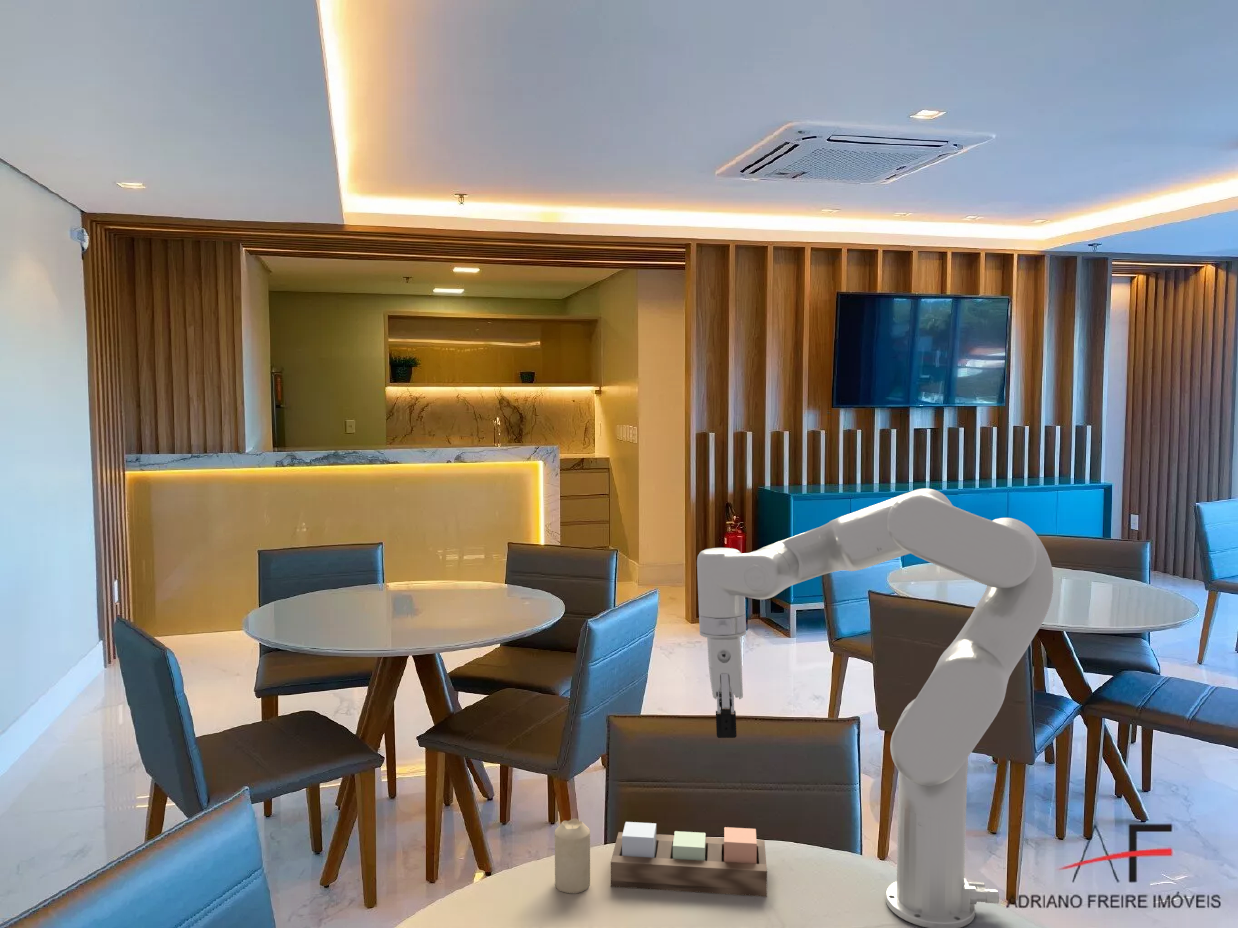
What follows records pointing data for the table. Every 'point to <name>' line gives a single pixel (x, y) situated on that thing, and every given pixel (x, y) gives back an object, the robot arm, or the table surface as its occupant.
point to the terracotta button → (740, 845)
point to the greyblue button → (639, 839)
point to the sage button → (689, 846)
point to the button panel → (690, 870)
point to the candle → (572, 856)
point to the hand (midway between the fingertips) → (726, 736)
